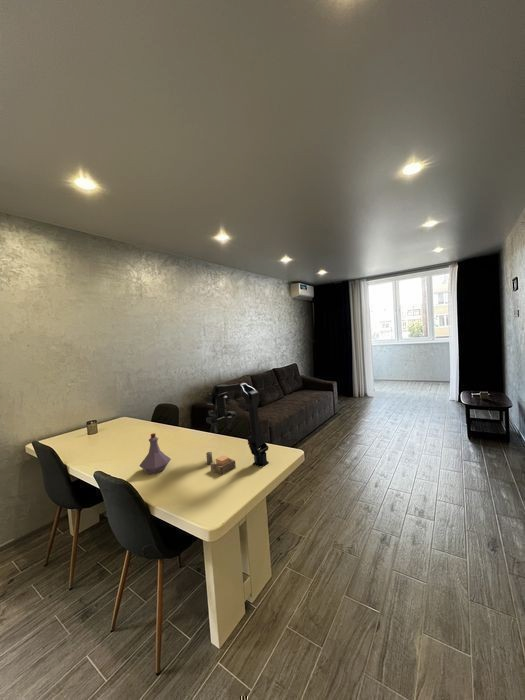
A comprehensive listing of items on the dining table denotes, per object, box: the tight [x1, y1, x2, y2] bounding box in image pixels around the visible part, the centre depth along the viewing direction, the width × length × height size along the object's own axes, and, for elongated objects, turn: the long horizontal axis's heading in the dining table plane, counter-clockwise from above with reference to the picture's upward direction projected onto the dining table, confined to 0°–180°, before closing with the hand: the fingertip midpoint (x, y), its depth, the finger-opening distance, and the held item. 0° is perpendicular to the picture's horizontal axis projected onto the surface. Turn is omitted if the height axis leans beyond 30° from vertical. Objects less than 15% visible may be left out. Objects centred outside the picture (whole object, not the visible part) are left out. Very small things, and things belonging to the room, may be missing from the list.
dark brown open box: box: [209, 457, 237, 476], centre depth 142 cm, size 9×10×4 cm
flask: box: [138, 432, 172, 475], centre depth 147 cm, size 16×16×20 cm
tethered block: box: [206, 451, 230, 466], centre depth 145 cm, size 16×5×6 cm, turn 47°
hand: (222, 431), depth 161 cm, fingers open, 9 cm apart
